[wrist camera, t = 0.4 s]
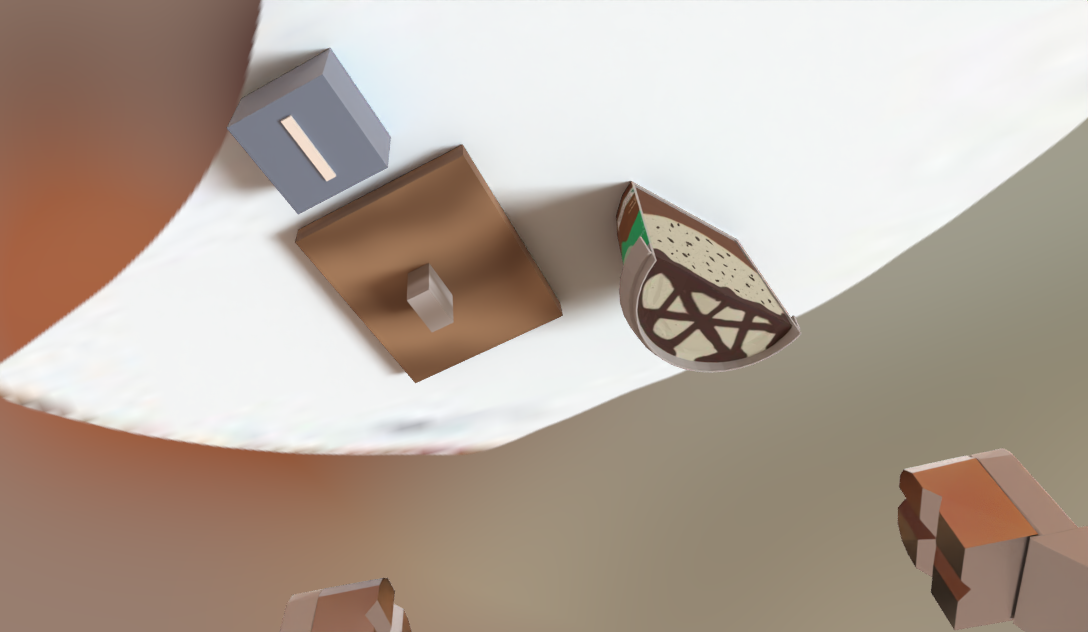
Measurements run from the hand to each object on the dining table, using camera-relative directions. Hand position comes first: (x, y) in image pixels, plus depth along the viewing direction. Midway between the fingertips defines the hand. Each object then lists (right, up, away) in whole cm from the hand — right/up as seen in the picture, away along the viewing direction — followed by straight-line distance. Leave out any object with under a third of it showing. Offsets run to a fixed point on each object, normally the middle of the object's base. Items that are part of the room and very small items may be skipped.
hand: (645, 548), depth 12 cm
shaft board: (-9, +7, +40) cm, 41 cm away
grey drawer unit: (-15, +15, +33) cm, 39 cm away
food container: (+6, +9, +41) cm, 42 cm away
